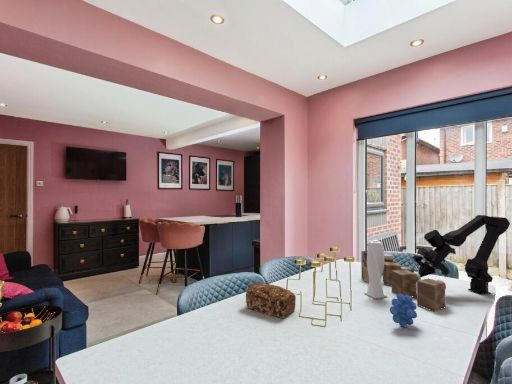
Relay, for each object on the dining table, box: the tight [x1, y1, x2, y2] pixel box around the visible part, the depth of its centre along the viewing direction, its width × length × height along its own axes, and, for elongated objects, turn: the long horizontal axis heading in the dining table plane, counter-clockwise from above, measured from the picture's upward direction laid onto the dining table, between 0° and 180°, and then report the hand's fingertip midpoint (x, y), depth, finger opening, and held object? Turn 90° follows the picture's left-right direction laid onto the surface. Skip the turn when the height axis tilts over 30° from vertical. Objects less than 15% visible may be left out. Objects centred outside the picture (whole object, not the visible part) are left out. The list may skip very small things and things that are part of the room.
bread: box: [245, 282, 297, 319], centre depth 114 cm, size 19×11×10 cm, turn 55°
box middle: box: [391, 270, 417, 298], centre depth 132 cm, size 8×7×10 cm
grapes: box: [389, 294, 418, 328], centre depth 98 cm, size 12×7×12 cm, turn 107°
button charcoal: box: [401, 265, 415, 273], centre depth 146 cm, size 8×5×5 cm, turn 71°
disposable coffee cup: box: [382, 252, 395, 276], centre depth 165 cm, size 10×10×12 cm
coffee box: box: [360, 250, 370, 284], centre depth 151 cm, size 9×6×16 cm
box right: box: [416, 278, 446, 312], centre depth 118 cm, size 8×7×10 cm
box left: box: [382, 261, 402, 286], centre depth 148 cm, size 8×7×10 cm
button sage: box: [414, 271, 422, 281], centre depth 132 cm, size 8×5×5 cm, turn 95°
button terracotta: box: [435, 279, 447, 290], centre depth 119 cm, size 8×5×5 cm, turn 117°
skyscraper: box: [364, 237, 388, 300], centre depth 129 cm, size 8×8×28 cm
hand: (418, 277), depth 132 cm, fingers closed, pressing on button sage
